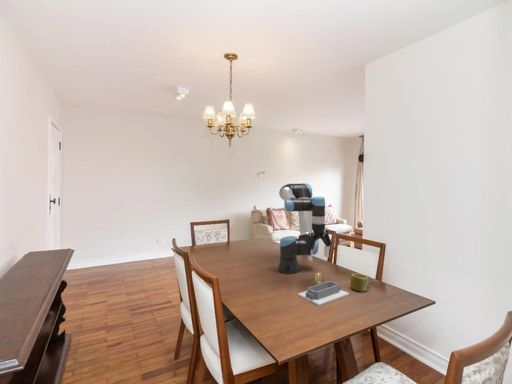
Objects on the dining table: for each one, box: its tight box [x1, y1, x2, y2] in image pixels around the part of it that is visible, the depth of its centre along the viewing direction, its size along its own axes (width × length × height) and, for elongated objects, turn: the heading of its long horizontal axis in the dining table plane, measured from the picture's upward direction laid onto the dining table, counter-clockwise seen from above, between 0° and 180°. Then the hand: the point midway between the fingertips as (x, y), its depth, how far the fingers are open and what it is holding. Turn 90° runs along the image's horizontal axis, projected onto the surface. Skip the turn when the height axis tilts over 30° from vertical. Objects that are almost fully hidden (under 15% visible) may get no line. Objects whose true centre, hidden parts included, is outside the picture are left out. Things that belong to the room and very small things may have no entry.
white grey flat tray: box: [297, 280, 350, 307], centre depth 153 cm, size 16×23×5 cm
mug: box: [350, 273, 371, 293], centre depth 160 cm, size 12×10×10 cm
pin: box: [314, 271, 322, 285], centre depth 166 cm, size 4×4×8 cm
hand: (318, 258), depth 165 cm, fingers open, 13 cm apart
